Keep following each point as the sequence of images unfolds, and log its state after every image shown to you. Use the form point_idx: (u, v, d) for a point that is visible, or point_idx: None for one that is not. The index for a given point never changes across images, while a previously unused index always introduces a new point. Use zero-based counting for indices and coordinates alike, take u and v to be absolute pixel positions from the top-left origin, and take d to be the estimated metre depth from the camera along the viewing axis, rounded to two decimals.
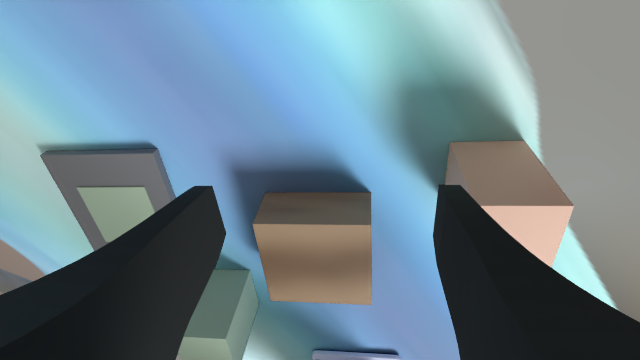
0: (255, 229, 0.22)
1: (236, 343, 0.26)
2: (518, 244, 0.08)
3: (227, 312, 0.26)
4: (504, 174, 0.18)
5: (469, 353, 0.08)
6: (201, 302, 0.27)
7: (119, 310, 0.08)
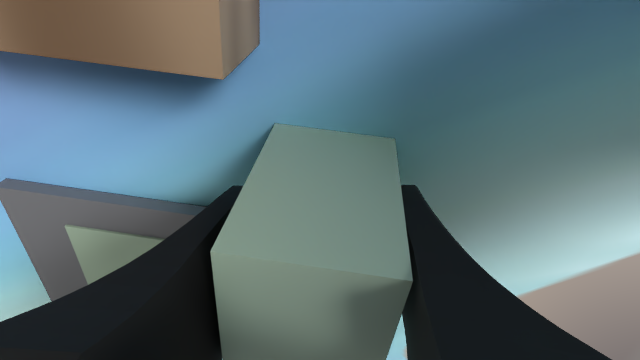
0: None
1: (317, 232, 0.08)
2: (454, 243, 0.08)
3: None
4: None
5: (411, 350, 0.08)
6: None
7: (176, 313, 0.07)
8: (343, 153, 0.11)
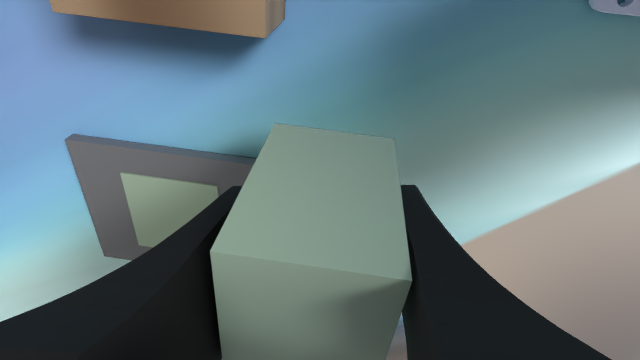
0: (64, 9, 0.12)
1: (317, 232, 0.08)
2: (454, 243, 0.08)
3: None
4: None
5: (410, 350, 0.08)
6: None
7: (176, 313, 0.07)
8: (343, 153, 0.11)
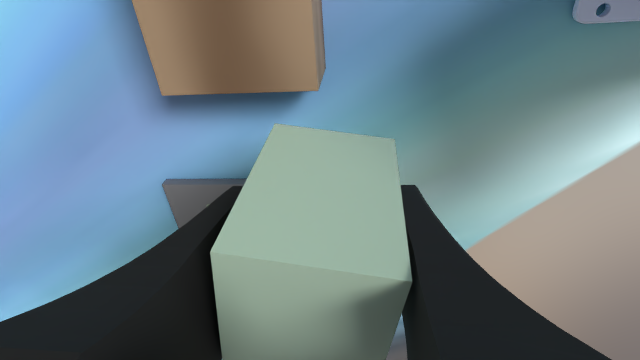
0: (170, 92, 0.16)
1: (317, 232, 0.08)
2: (454, 243, 0.08)
3: None
4: None
5: (411, 350, 0.08)
6: None
7: (176, 313, 0.07)
8: (343, 153, 0.11)
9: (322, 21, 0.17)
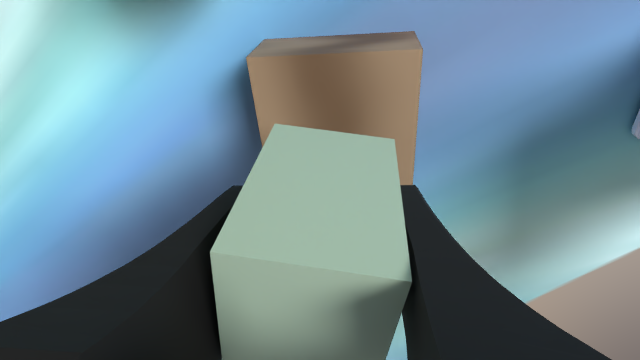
0: None
1: (317, 233, 0.08)
2: (454, 243, 0.08)
3: None
4: None
5: (410, 350, 0.08)
6: None
7: (176, 313, 0.07)
8: (343, 153, 0.11)
9: None
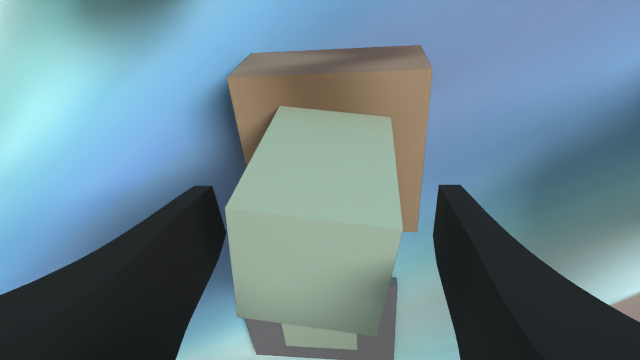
0: None
1: (319, 193, 0.09)
2: (518, 244, 0.08)
3: None
4: None
5: (469, 353, 0.08)
6: None
7: (119, 310, 0.08)
8: (342, 130, 0.12)
9: None
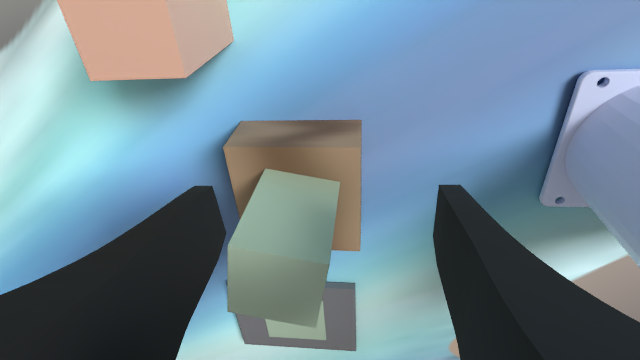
0: None
1: (284, 238, 0.15)
2: (518, 244, 0.08)
3: None
4: None
5: (469, 353, 0.08)
6: None
7: (119, 310, 0.08)
8: (305, 191, 0.18)
9: None
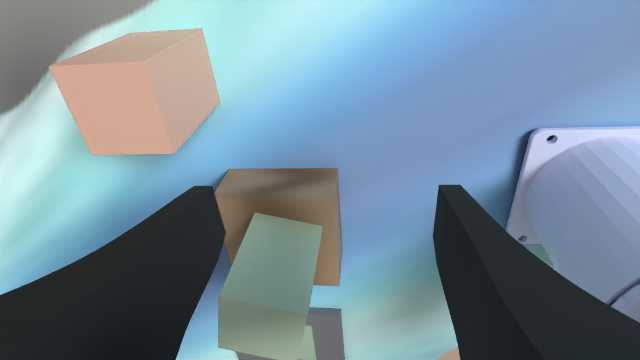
0: None
1: (268, 288, 0.17)
2: (518, 244, 0.08)
3: None
4: None
5: (469, 353, 0.08)
6: None
7: (119, 310, 0.08)
8: (290, 237, 0.20)
9: (340, 228, 0.25)
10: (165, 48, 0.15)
